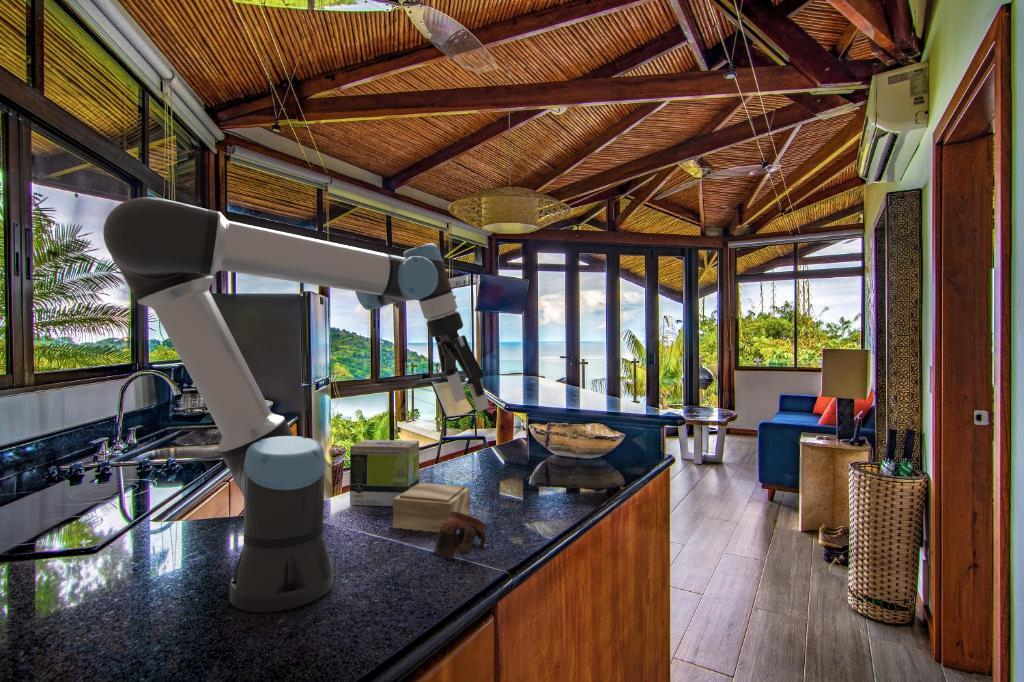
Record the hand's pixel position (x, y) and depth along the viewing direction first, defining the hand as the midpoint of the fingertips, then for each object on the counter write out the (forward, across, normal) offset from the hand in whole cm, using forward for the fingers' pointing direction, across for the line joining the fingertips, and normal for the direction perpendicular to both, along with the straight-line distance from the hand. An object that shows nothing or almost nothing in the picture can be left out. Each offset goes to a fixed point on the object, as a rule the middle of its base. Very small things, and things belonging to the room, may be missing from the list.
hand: (471, 404), depth 117 cm
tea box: (+21, +21, +23) cm, 38 cm away
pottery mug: (+21, -17, +17) cm, 32 cm away
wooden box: (+22, +2, +17) cm, 28 cm away
